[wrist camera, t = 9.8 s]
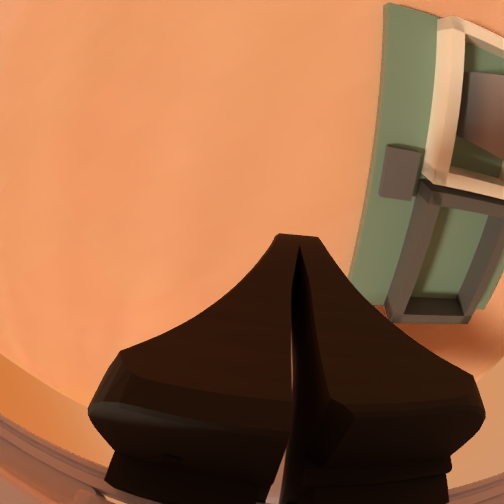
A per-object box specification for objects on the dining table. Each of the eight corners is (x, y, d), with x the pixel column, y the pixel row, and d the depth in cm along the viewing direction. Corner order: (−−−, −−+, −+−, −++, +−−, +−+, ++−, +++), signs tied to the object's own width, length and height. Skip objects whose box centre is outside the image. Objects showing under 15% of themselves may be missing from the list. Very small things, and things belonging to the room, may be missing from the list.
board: (479, 301, 21) (492, 325, 19) (343, 294, 23) (348, 322, 20) (542, 70, 11) (568, 75, 8) (383, 5, 12) (399, -6, 9)
